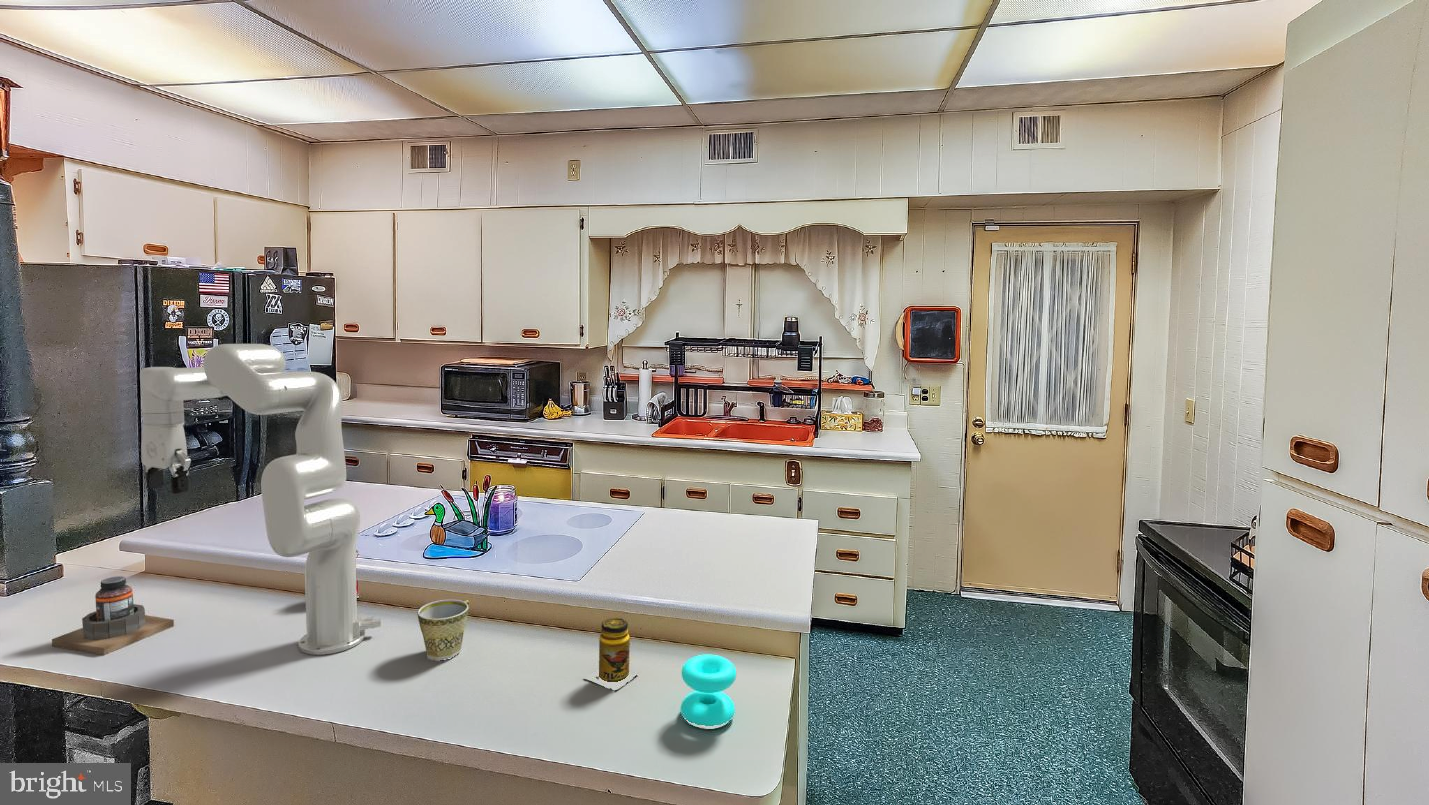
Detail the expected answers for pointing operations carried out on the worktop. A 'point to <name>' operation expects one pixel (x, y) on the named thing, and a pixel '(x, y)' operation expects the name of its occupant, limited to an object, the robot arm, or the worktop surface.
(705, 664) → the donuts
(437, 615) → the ceramic cup
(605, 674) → the condiment
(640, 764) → the worktop surface
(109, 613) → the supplement bottle
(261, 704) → the worktop surface
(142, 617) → the ring holder
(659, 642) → the worktop surface
